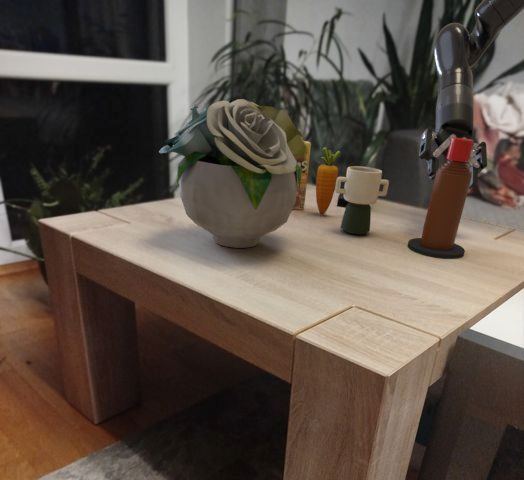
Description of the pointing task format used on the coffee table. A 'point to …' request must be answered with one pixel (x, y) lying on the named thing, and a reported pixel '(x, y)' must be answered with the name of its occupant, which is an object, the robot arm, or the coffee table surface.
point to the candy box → (302, 177)
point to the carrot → (326, 180)
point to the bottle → (446, 205)
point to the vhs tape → (342, 200)
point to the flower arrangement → (238, 170)
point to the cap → (460, 149)
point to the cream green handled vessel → (360, 196)
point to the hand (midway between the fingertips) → (452, 182)
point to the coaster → (417, 247)
